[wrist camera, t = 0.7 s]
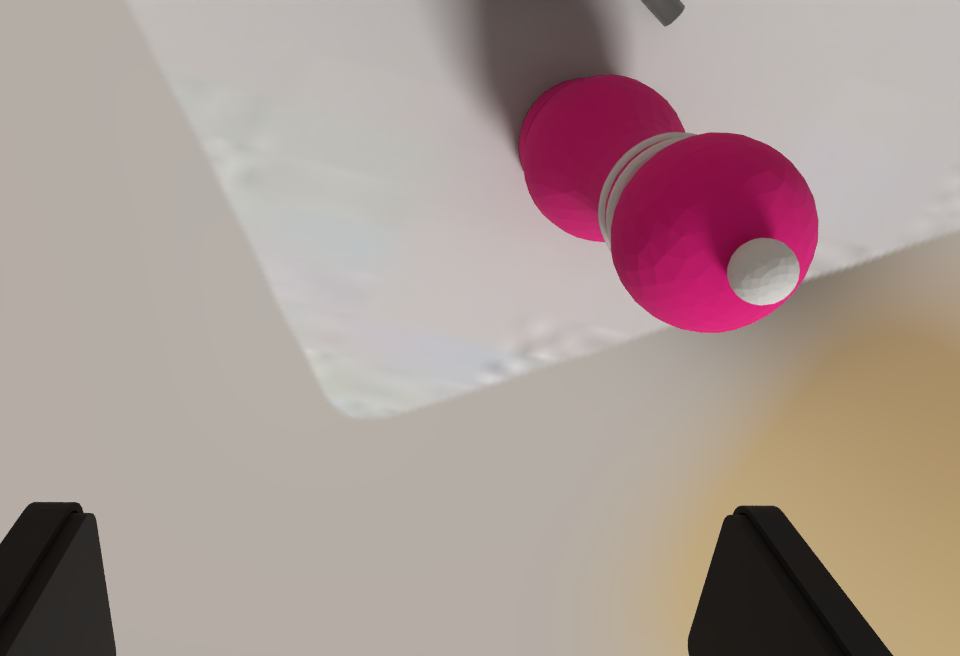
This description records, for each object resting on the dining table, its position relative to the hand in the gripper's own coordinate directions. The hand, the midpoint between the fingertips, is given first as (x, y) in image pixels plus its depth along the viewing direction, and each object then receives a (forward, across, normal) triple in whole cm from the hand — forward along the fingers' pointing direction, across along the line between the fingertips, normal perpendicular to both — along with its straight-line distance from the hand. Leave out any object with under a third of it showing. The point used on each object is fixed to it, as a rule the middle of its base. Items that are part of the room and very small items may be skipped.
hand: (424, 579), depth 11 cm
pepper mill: (+28, -9, -2) cm, 29 cm away
